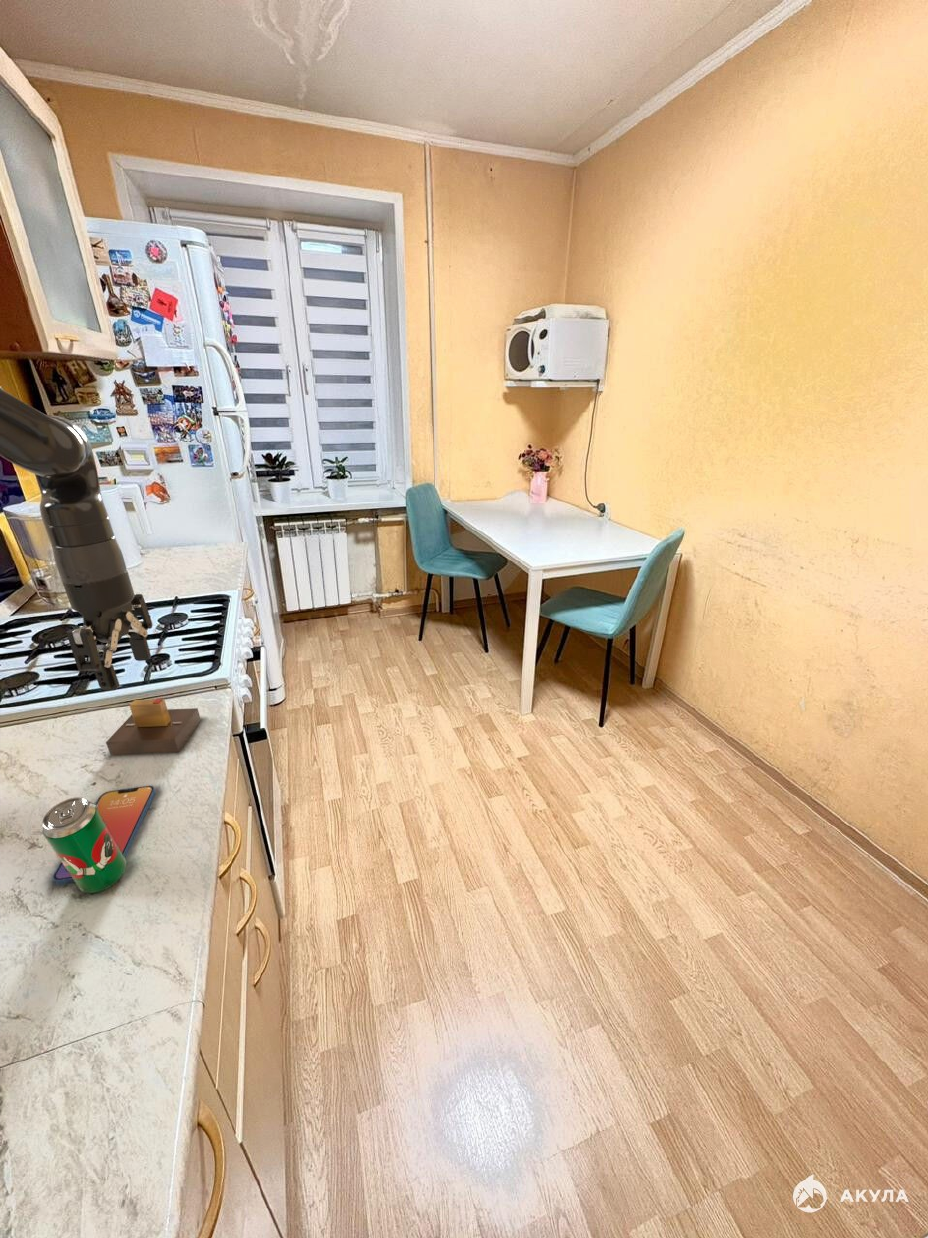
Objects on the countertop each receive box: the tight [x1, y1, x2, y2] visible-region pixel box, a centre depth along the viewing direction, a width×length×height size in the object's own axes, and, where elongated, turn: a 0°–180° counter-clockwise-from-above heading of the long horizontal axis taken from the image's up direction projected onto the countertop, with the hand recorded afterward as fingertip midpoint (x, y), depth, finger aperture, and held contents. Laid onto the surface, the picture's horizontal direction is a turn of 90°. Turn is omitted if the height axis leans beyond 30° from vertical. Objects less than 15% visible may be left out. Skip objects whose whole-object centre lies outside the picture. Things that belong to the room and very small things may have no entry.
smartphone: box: [52, 785, 156, 885], centre depth 68 cm, size 7×15×1 cm, turn 12°
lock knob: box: [129, 697, 171, 727], centre depth 85 cm, size 5×2×5 cm, turn 94°
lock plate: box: [105, 707, 202, 756], centre depth 86 cm, size 11×9×3 cm
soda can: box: [41, 796, 127, 894], centre depth 59 cm, size 5×5×12 cm
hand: (128, 673), depth 75 cm, fingers open, 8 cm apart
